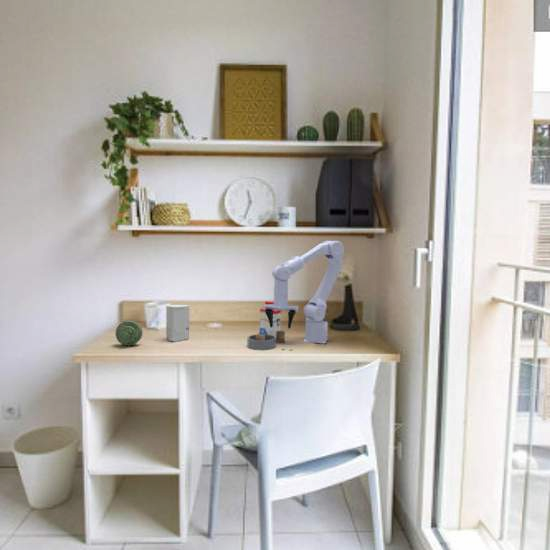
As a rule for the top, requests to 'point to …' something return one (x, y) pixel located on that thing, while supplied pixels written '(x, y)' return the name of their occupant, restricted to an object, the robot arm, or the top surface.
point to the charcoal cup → (261, 342)
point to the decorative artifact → (129, 332)
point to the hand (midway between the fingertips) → (280, 327)
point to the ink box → (265, 323)
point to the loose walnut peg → (280, 336)
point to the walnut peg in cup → (260, 337)
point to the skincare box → (177, 322)
